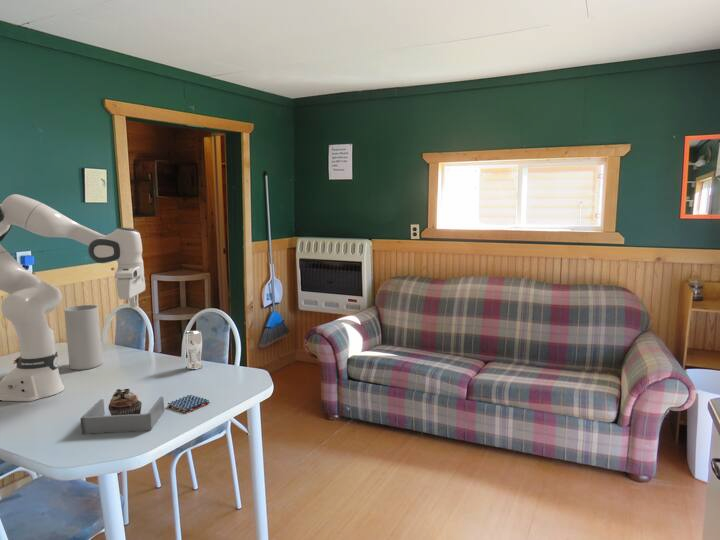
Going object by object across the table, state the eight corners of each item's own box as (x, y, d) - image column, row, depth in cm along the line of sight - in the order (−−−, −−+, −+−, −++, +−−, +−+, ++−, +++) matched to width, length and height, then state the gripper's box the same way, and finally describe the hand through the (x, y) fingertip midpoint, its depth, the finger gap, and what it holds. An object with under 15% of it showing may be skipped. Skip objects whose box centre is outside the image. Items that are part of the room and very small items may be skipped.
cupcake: (143, 422, 167) (140, 392, 165) (109, 428, 163) (106, 397, 162) (142, 411, 175) (140, 382, 174) (109, 417, 172) (107, 387, 170)
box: (81, 434, 159) (80, 418, 158) (101, 414, 174) (100, 399, 173) (150, 430, 161) (149, 414, 160) (164, 411, 176) (163, 396, 175)
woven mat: (186, 415, 173) (186, 409, 173) (165, 408, 179) (165, 403, 179) (211, 404, 182) (211, 399, 181) (191, 398, 187) (190, 393, 187)
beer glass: (198, 370, 217) (196, 334, 215) (182, 369, 218) (180, 334, 216) (206, 365, 224) (204, 330, 222) (191, 364, 225) (189, 330, 223)
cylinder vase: (108, 364, 228) (104, 306, 224) (80, 372, 217) (74, 312, 214) (91, 359, 235) (87, 304, 231) (63, 367, 224) (58, 309, 221)
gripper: (131, 267, 210) (134, 302, 212) (112, 274, 190) (115, 312, 192) (148, 267, 210) (150, 301, 212) (130, 274, 190) (133, 312, 192)
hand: (133, 306), depth 202 cm, fingers closed
